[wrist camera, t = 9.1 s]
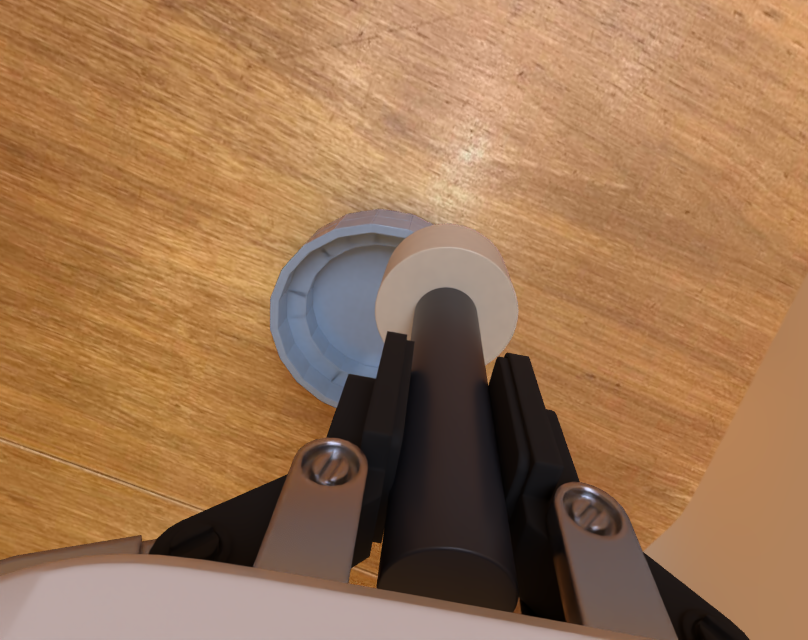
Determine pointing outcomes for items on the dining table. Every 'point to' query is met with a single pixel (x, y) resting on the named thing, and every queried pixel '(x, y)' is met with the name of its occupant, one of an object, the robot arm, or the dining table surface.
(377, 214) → the bowl
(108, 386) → the dining table surface
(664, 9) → the dining table surface
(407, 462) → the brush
